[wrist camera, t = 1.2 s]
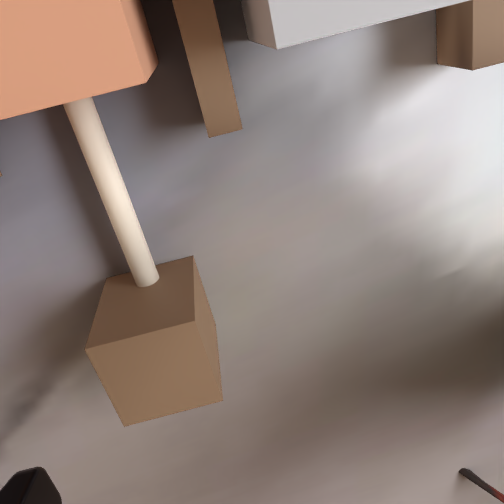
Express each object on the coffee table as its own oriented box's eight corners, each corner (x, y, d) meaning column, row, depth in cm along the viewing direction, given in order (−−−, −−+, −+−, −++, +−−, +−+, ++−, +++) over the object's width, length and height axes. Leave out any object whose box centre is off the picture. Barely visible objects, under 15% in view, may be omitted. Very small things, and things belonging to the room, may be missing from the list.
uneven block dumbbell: (235, 320, 22) (250, 413, 17) (116, 351, 22) (94, 454, 17) (97, -144, 14) (42, -246, 9) (-95, -96, 14) (-270, -169, 8)
